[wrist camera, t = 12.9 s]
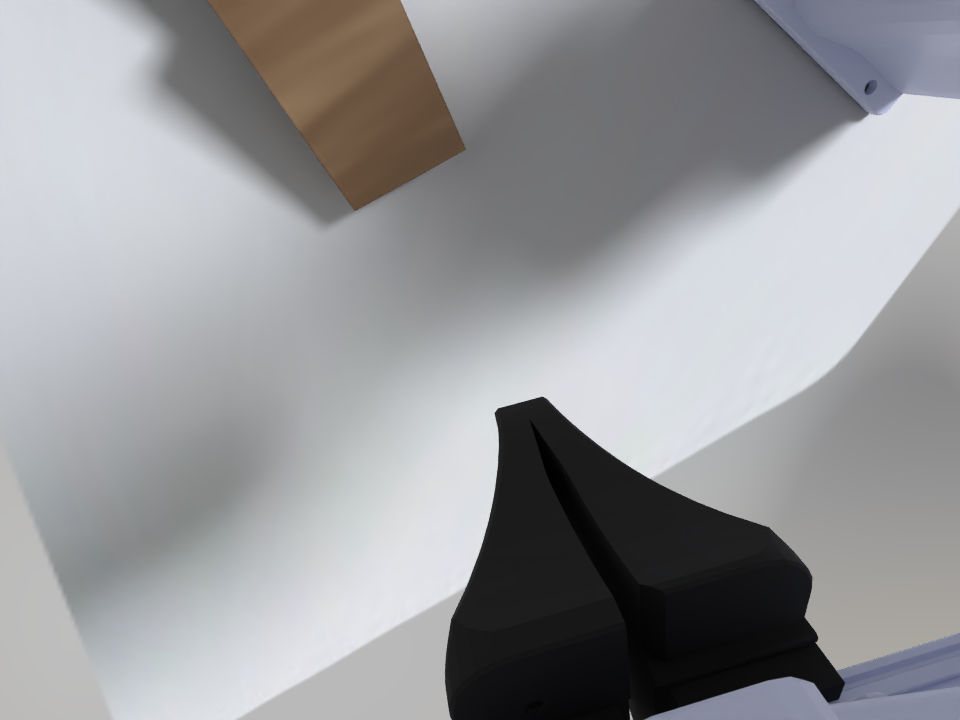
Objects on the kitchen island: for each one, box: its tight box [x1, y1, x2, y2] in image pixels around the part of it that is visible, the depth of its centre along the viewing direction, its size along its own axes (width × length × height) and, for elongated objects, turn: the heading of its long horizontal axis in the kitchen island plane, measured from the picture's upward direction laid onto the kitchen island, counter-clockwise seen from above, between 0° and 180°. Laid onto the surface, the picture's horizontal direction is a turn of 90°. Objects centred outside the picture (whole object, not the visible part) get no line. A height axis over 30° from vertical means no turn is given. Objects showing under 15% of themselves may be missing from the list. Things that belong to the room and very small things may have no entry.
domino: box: [207, 0, 466, 211], centre depth 16 cm, size 2×4×7 cm
